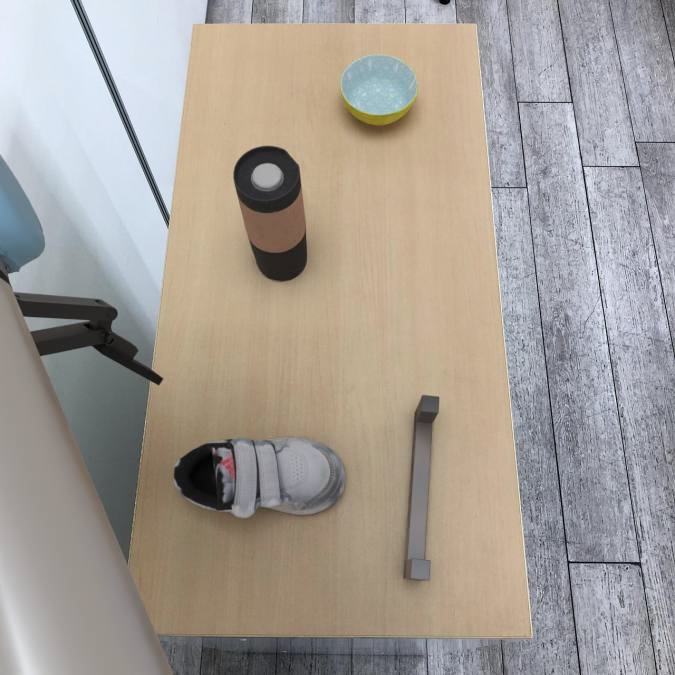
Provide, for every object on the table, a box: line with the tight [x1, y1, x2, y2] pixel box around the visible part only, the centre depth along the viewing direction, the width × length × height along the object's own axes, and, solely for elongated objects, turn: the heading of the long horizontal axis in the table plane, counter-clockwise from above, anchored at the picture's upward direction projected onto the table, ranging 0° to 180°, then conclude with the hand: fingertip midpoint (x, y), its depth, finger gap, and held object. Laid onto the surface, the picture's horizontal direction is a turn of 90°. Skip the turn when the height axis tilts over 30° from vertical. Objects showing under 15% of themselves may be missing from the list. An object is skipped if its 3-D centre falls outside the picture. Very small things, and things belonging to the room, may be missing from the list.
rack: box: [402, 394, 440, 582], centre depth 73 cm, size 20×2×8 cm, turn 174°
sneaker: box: [172, 435, 346, 519], centre depth 73 cm, size 10×20×10 cm, turn 90°
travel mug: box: [232, 145, 308, 282], centre depth 79 cm, size 8×8×20 cm
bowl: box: [339, 53, 419, 126], centre depth 95 cm, size 11×12×6 cm
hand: (110, 441), depth 56 cm, fingers open, 13 cm apart
